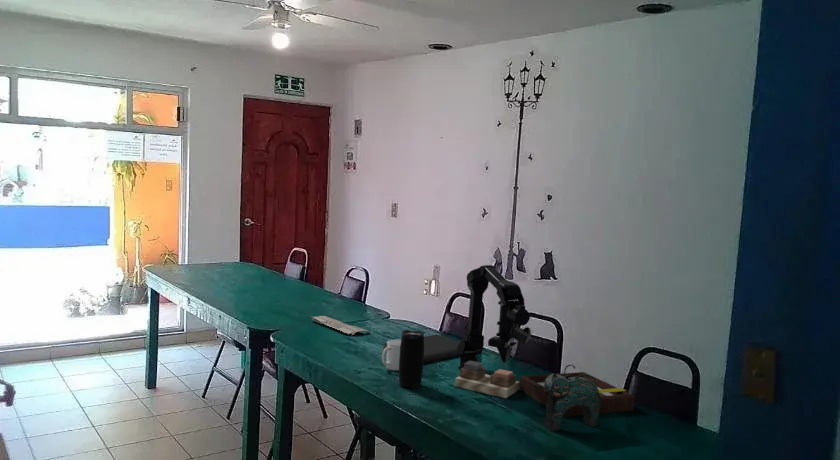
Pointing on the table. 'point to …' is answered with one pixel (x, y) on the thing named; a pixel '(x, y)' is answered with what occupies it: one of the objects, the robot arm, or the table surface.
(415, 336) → the portable speaker
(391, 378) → the table surface
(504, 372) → the terracotta key
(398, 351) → the cup
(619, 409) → the brown wooden tray
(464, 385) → the key console
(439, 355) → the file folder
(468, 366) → the charcoal key
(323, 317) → the beige notched slab
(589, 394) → the ceramic cat
